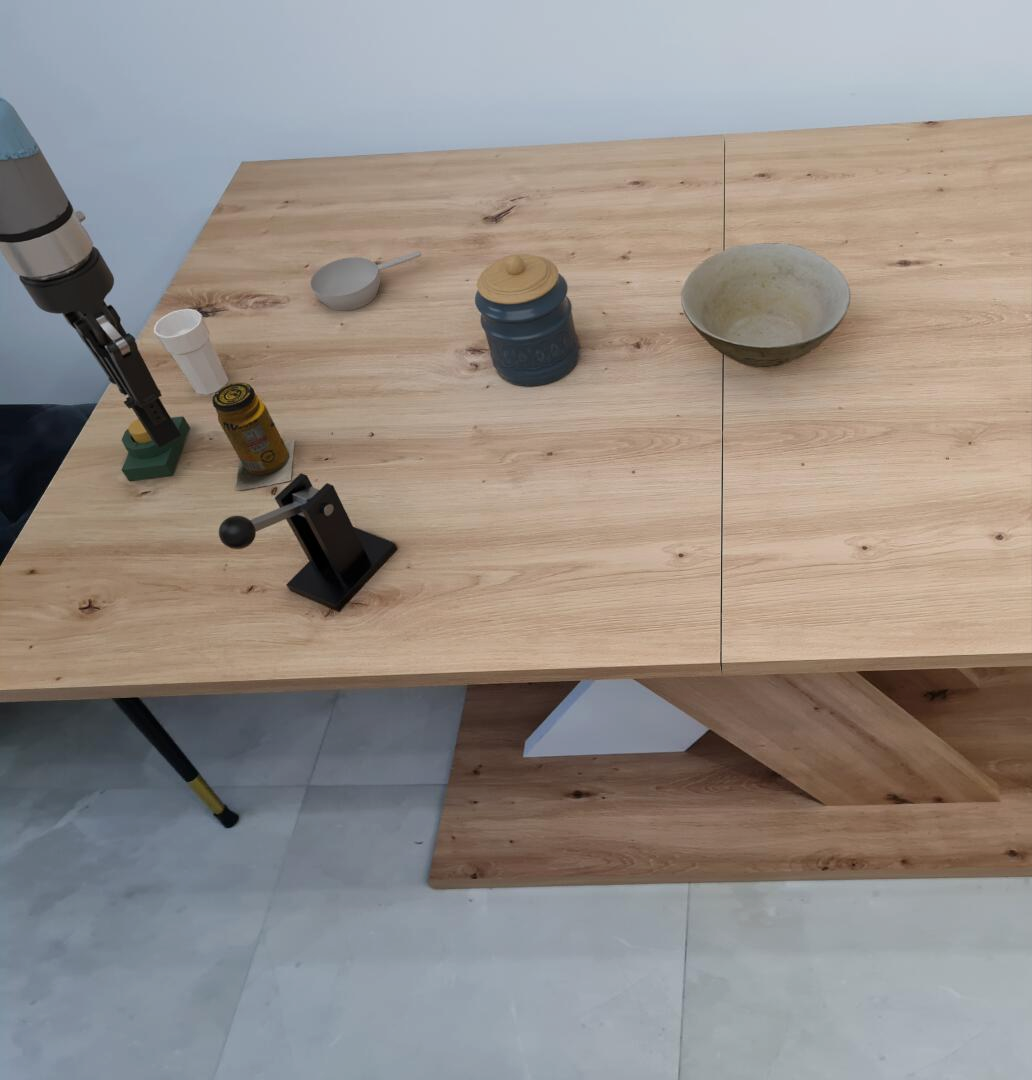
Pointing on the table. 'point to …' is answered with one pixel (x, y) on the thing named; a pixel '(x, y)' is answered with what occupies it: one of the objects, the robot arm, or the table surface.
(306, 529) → the lever base
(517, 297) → the canister
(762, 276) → the bowl
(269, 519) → the ball lever handle
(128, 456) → the control block
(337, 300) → the saucepan
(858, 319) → the table surface
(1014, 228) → the table surface
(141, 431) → the button
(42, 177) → the robot arm
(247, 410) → the condiment
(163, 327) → the cup
